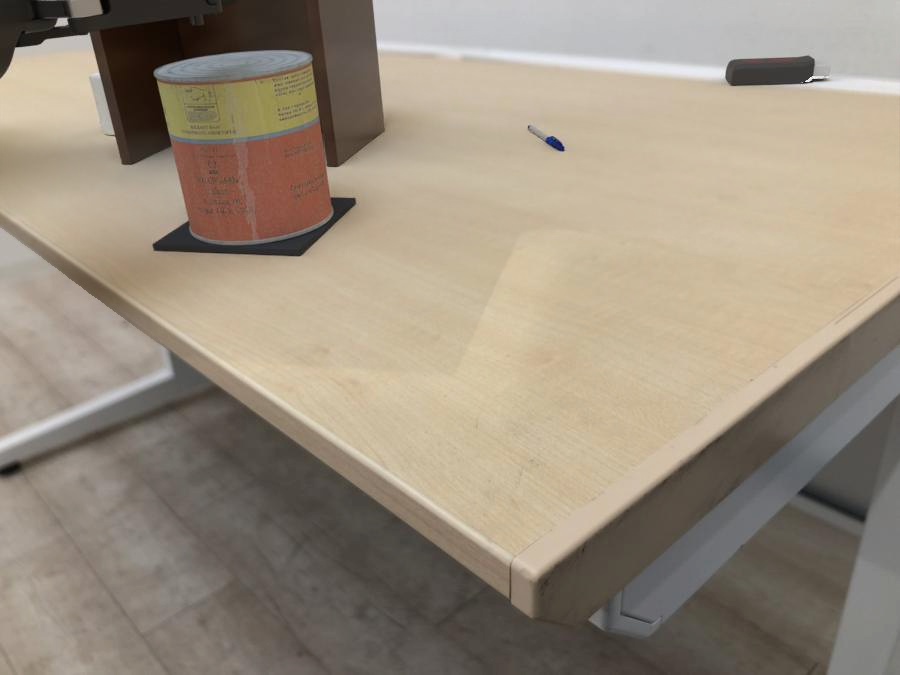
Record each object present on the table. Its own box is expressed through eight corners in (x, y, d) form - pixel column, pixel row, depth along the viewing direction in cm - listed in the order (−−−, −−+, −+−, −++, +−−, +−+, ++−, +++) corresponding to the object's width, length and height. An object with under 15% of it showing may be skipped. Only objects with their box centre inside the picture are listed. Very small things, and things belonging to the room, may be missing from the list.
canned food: (290, 188, 71) (266, 46, 65) (360, 216, 63) (341, 57, 57) (167, 222, 65) (130, 68, 59) (228, 258, 57) (192, 83, 51)
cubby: (121, 164, 85) (63, -72, 74) (194, 130, 97) (152, -75, 87) (338, 166, 79) (306, -89, 69) (385, 130, 92) (364, -90, 81)
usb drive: (724, 78, 107) (727, 56, 106) (819, 75, 105) (823, 53, 104) (730, 85, 103) (733, 63, 102) (830, 82, 101) (833, 59, 100)
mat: (153, 250, 61) (151, 243, 60) (228, 200, 71) (227, 194, 71) (300, 255, 58) (299, 249, 57) (356, 203, 68) (355, 197, 68)
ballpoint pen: (567, 152, 79) (567, 142, 79) (559, 153, 79) (559, 143, 79) (531, 130, 88) (531, 120, 88) (524, 130, 88) (523, 121, 88)
